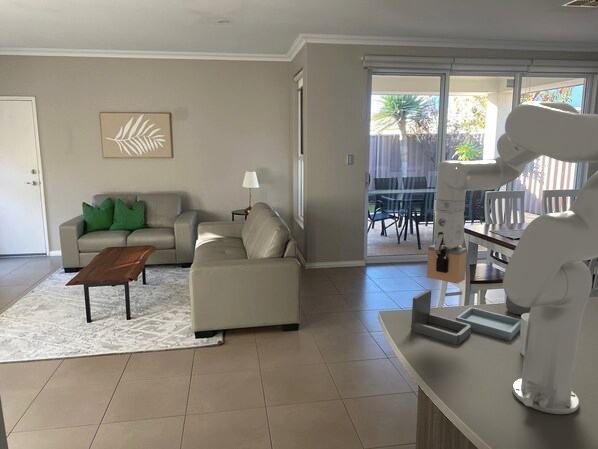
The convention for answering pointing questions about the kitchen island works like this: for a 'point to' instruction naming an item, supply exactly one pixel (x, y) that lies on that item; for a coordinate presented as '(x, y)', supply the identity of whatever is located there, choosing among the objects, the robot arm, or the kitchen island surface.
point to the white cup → (523, 332)
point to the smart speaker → (516, 308)
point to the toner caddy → (454, 265)
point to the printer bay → (435, 321)
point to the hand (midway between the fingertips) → (446, 269)
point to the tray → (490, 323)
